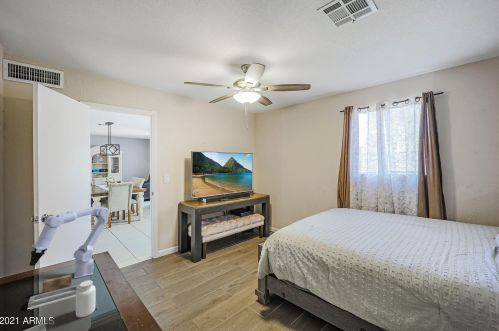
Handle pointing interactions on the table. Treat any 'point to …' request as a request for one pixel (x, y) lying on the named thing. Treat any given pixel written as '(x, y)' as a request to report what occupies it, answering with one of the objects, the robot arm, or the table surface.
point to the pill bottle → (85, 299)
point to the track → (52, 297)
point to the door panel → (57, 283)
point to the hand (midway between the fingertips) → (33, 263)
